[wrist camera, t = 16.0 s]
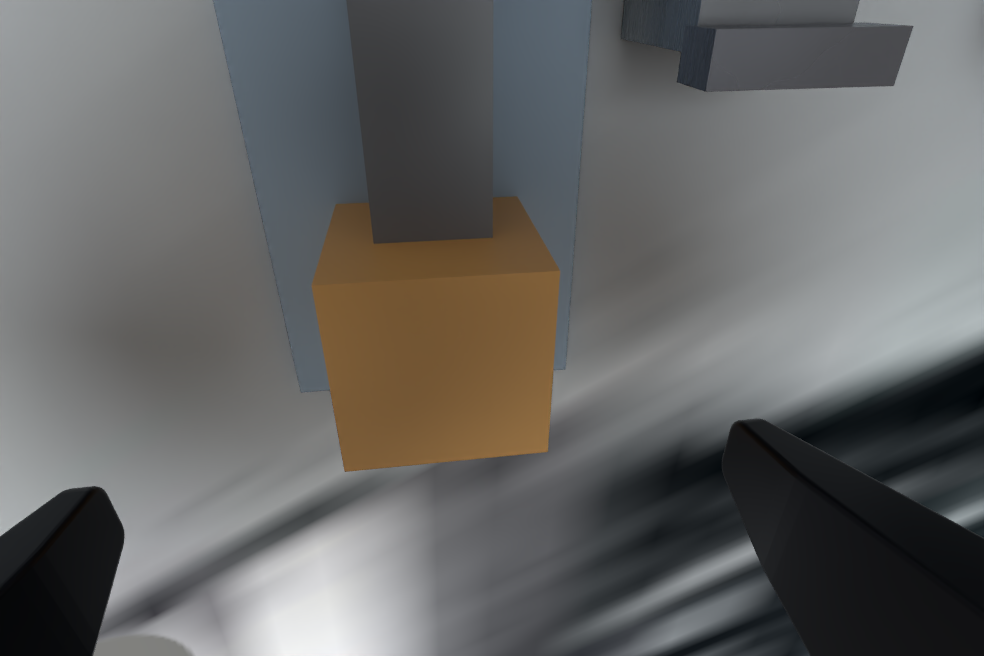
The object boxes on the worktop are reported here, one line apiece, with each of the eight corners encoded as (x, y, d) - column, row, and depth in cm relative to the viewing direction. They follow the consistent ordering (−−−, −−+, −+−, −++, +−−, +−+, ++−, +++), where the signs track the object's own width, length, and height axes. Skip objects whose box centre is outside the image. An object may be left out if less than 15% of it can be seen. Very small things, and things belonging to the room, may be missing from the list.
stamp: (259, -333, 8) (159, -562, 5) (529, -315, 9) (614, -511, 5) (363, 395, 15) (352, 514, 12) (512, 383, 15) (544, 494, 12)
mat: (606, -309, 9) (615, -320, 9) (561, 361, 16) (565, 369, 15) (145, -334, 8) (135, -347, 8) (303, 383, 15) (301, 392, 15)
